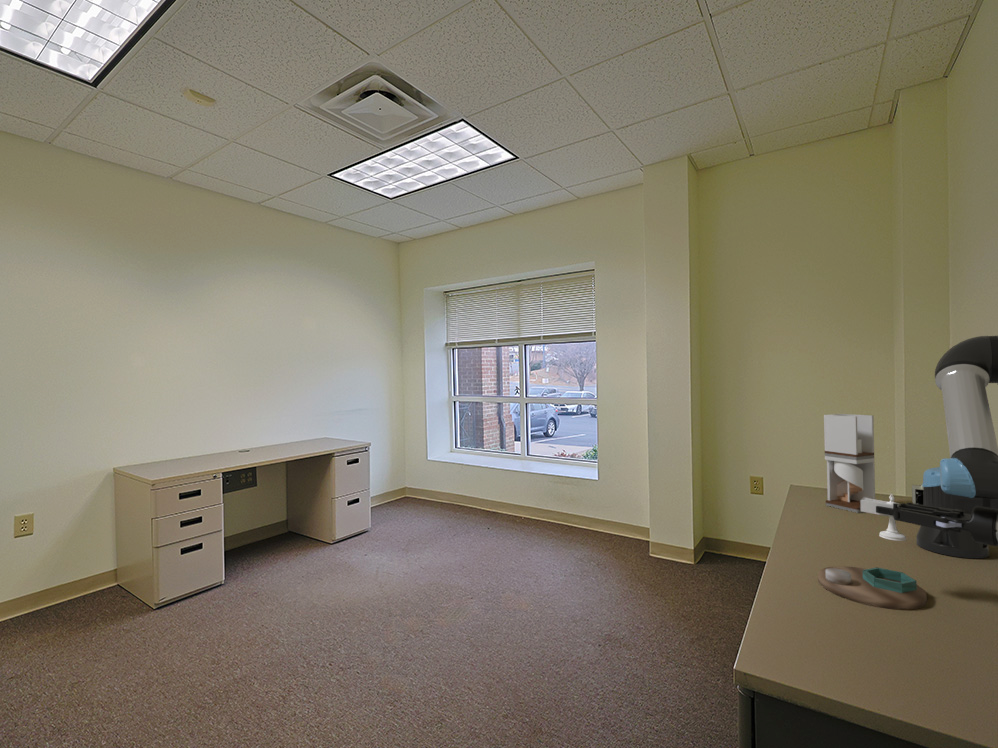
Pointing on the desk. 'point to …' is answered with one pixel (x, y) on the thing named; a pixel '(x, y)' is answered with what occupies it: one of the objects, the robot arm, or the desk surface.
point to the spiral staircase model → (849, 460)
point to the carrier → (873, 587)
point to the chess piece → (892, 527)
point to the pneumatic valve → (918, 494)
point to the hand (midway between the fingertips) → (863, 504)
